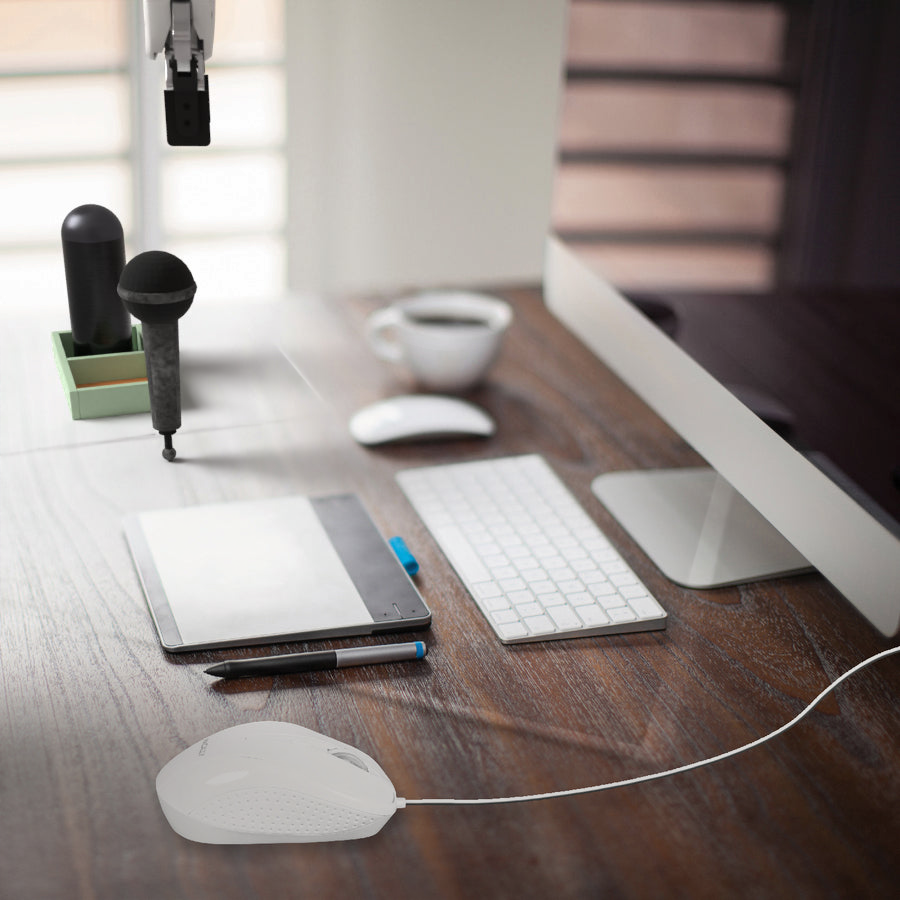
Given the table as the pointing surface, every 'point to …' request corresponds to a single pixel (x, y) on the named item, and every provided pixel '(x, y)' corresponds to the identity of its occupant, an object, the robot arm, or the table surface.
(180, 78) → the robot arm
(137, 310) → the microphone
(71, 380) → the mic rack
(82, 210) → the black domed cylinder
